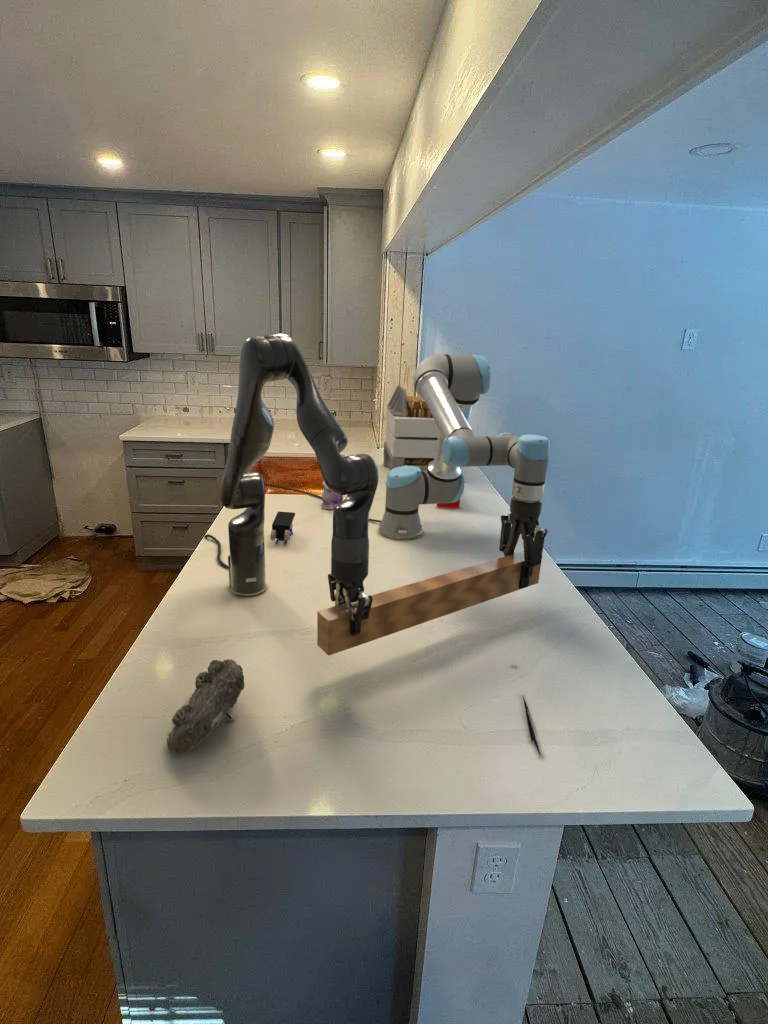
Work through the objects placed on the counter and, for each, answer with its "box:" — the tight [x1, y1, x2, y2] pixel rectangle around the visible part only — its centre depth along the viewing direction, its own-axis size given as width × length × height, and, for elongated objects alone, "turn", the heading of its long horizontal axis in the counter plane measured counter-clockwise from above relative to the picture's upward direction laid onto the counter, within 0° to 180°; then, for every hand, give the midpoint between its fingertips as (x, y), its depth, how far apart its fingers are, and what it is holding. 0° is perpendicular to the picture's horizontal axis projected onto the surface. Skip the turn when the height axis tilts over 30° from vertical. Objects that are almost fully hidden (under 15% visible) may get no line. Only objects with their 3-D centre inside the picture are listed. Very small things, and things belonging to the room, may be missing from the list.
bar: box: [316, 550, 543, 657], centre depth 133 cm, size 64×5×8 cm, turn 125°
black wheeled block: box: [270, 510, 296, 546], centre depth 190 cm, size 7×8×15 cm
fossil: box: [166, 658, 245, 754], centre depth 106 cm, size 22×10×15 cm
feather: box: [513, 664, 541, 755], centre depth 114 cm, size 2×28×2 cm
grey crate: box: [383, 384, 462, 471], centre depth 268 cm, size 34×33×41 cm
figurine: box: [321, 480, 344, 510], centre depth 222 cm, size 9×10×15 cm
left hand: (348, 628), depth 119 cm, fingers closed on bar, 4 cm apart
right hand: (515, 583), depth 148 cm, fingers closed on bar, 5 cm apart
